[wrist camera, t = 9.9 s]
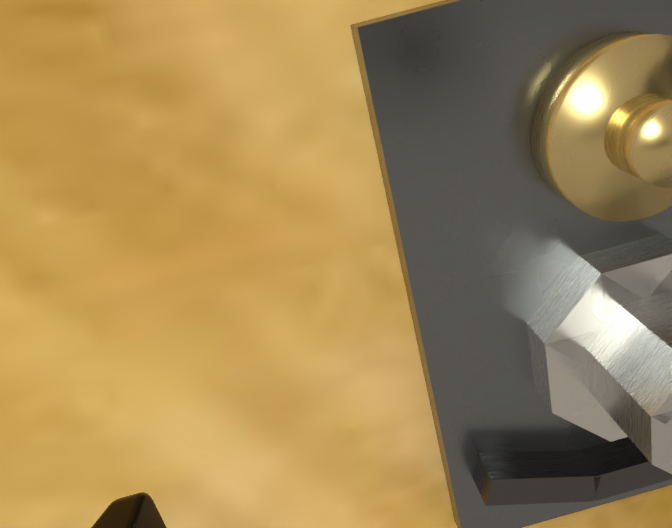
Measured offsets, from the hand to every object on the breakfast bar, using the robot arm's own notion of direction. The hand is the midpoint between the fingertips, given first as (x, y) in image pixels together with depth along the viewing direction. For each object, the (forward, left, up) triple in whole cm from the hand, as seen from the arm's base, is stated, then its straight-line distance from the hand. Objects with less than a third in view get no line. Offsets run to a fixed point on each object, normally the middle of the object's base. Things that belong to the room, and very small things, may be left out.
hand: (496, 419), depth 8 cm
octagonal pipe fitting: (-8, +8, -11) cm, 16 cm away
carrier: (-8, +6, -12) cm, 16 cm away
